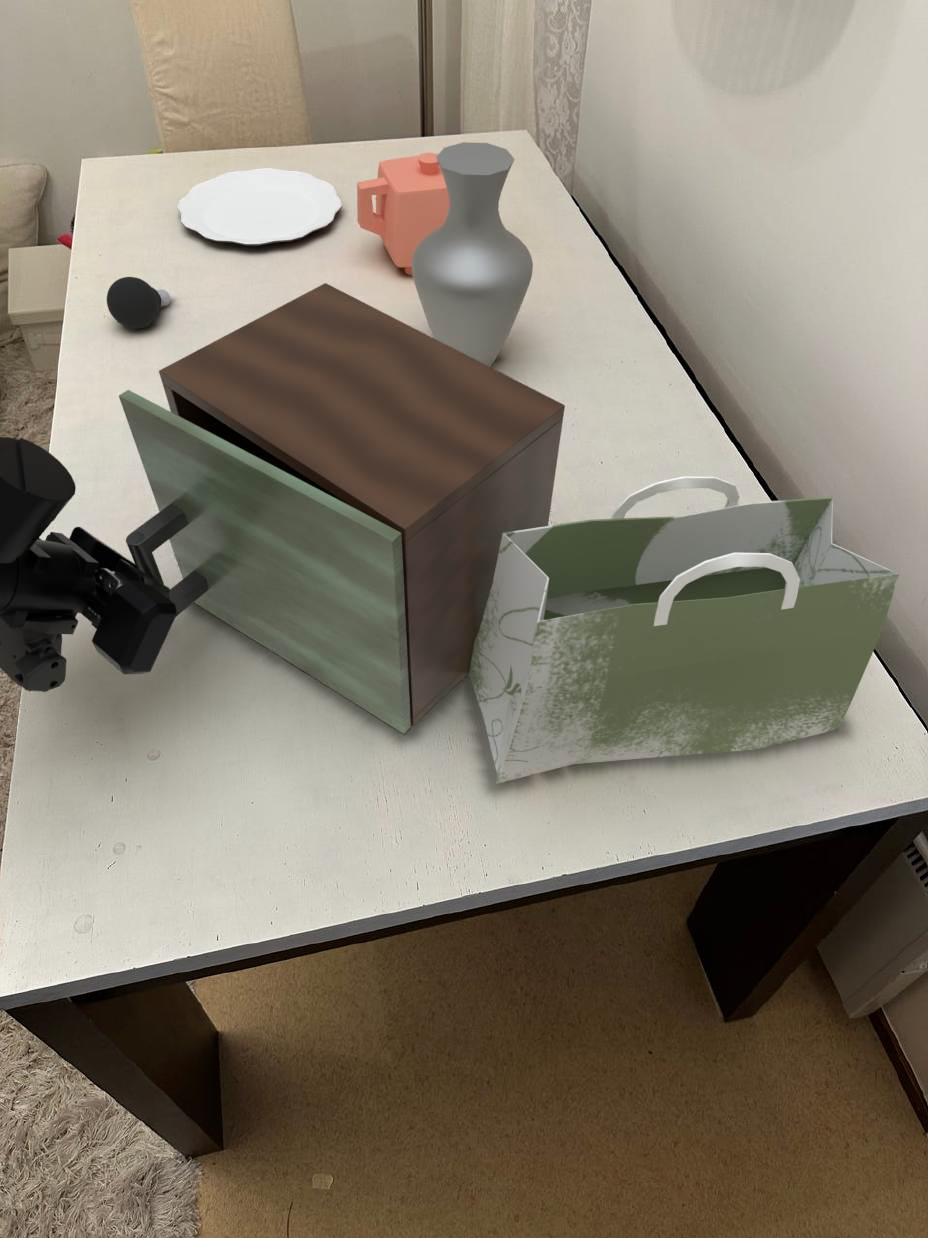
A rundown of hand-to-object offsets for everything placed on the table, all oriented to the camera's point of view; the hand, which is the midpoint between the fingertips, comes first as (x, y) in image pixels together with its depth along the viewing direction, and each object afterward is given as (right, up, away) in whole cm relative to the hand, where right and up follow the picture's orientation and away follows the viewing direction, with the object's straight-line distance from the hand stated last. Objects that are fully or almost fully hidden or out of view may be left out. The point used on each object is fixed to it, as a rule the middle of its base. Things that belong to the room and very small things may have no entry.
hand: (159, 587), depth 74 cm
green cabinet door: (+9, -8, +4) cm, 13 cm away
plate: (-5, +61, +60) cm, 86 cm away
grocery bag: (+43, -10, +4) cm, 45 cm away
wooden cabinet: (+18, 0, +11) cm, 21 cm away
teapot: (+22, +52, +53) cm, 78 cm away
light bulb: (-17, +38, +41) cm, 58 cm away
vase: (+27, +31, +37) cm, 55 cm away
